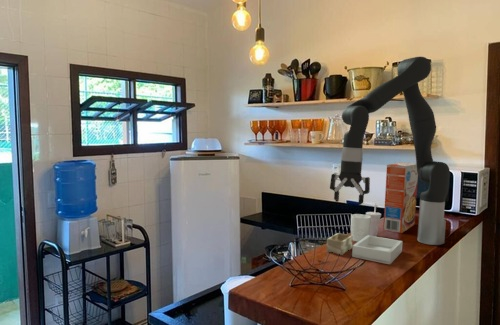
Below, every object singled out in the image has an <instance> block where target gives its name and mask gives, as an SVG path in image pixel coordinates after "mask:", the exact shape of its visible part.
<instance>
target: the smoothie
mask: <svg viewBox="0 0 500 325" xmlns="http://www.w3.org/2000/svg"><path fill="white" fill-rule="evenodd" d="M376 211H377V203H374V211H367V212H365V215H368V216H371V222H370V231H369V235H370V236H376V237H378V232H379V226H380V221H381V217H382V213H380V212H376Z"/></svg>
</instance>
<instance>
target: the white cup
mask: <svg viewBox="0 0 500 325" xmlns="http://www.w3.org/2000/svg"><path fill="white" fill-rule="evenodd" d="M370 222H371V216H368V215H366V214H361V213H354V214H350V235H352V236H353V241H352V242H355V243H357V242H359V241H360V240H361V239H363V238H364V237H366V236H367V235H369V231H370Z"/></svg>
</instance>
